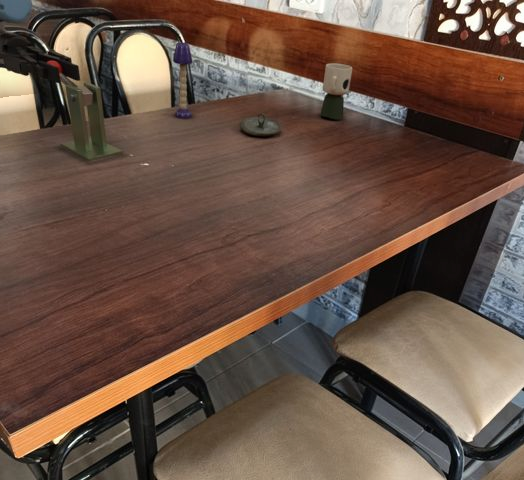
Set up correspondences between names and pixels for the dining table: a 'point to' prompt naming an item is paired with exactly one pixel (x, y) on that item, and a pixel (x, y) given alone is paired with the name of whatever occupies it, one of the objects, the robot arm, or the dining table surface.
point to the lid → (260, 126)
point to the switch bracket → (82, 143)
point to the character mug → (335, 89)
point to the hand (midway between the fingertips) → (67, 74)
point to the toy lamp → (183, 76)
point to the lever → (85, 91)
